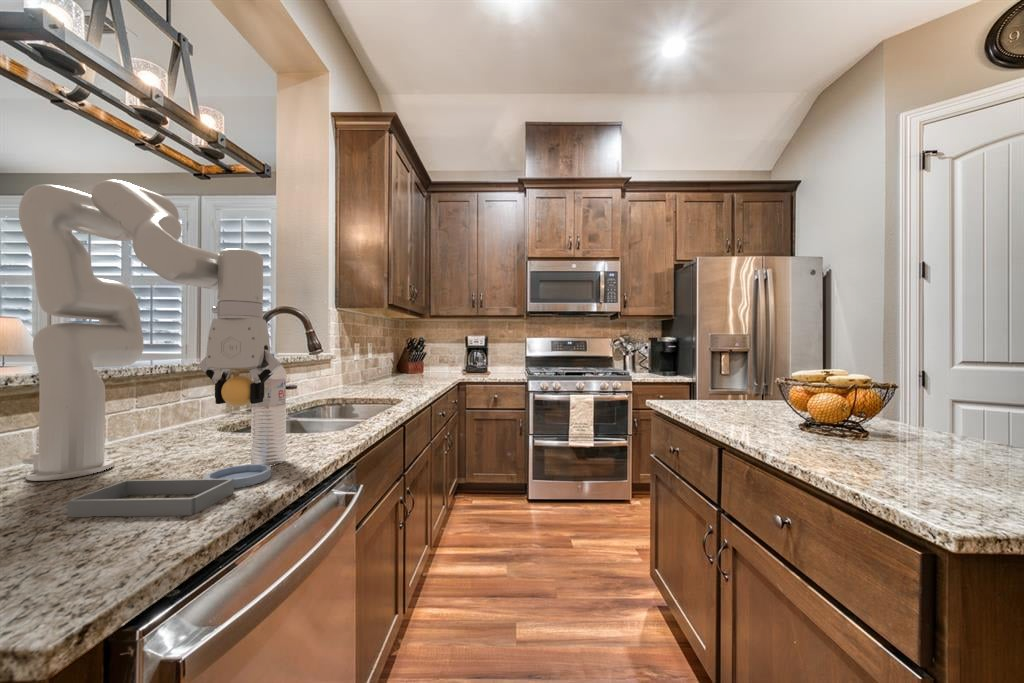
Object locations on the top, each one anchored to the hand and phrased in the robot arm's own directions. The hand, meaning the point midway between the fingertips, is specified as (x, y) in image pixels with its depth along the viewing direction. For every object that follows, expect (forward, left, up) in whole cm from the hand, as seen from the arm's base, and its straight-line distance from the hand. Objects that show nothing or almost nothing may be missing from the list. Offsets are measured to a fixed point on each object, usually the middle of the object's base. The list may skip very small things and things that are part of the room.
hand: (239, 402), depth 80 cm
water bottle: (-1, +12, -16) cm, 20 cm away
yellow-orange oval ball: (0, 0, -1) cm, 1 cm away
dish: (0, 0, -15) cm, 15 cm away
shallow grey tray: (-6, -12, -15) cm, 20 cm away
